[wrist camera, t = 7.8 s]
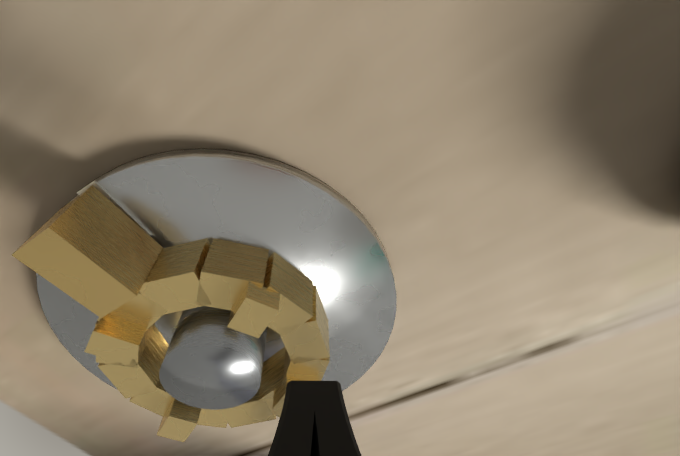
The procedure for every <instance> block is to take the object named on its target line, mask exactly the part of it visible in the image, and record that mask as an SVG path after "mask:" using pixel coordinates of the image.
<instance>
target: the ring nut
mask: <svg viewBox="0 0 680 456" xmlns="http://www.w3.org/2000/svg"><path fill="white" fill-rule="evenodd" d="M268 253H269V249H264V248H260V247H255V246H250V245H245V244H240V243H235V242H231V241H226V240H221V239H216V238H213V241H212V244H210V242H209V240H208V238H205V239H201V240H196V241H192V242H188V243H183V244H179V245H175V246H170V247H166V248H163V247H162V246H161V245H159V244H158V243H157V242H156V241H155V240H154V239H153V238H152V237H150V236H149V235H148V234H147V233H146V232H145V231H144V230H143V229H141V228H140V227H139V226H138V225H137V224H136V223H135V222H133V221H132V220H131V219H130V218H129V217H128V216H127V215H126V214H124V213H123V212H122V211H121V210H120V209H119V208H118V207H116V206H115V205H114V204H113V203H112V202H111V201H110V200H109V199H107V198H106V197H105V196H104V195H103V194H102V193H101V192H100V191H98V190H97V189H96V188H95V187H94V186H93V185H92V186H90V187H89V188H88V189H86V190H85V191H84V192H82V193H81V194H80V195H78V196H77V197H76V198H75V199H73V200H72V201H71V202H69V203H68V204H67V205H65V206H64V207H63V208H61V209H60V210H59V211H58V212H57V213H56V214H55V215H54V216H52V217H51V218H50V219H49V220H48V221H47V222H46V223H45V224H44V225H43V226H42V227H41V228H40V229H39V230H38V231H37V232H35V233H34V234H33V235H32V236H31V237H30V238H29V239H28V240H27V241H26V242H25V243H24V244H23V245H22V246H21V247H20V248H19V249H17V250H16V251H15V252H14V253H13V254H12V256H13V257H15V258H16V259H18V260H19V261H21V262H22V263H23V264H25V265H26V266H28V267H29V268H30V269H32V270H33V271H35V272H36V273H38V274H39V275H40V276H42V277H43V278H45V279H46V280H47V281H49V282H50V283H52V284H53V285H55V286H56V287H57V288H59V289H60V290H62V291H63V292H64V293H66V294H67V295H69V296H70V297H72V298H73V299H74V300H76V301H77V302H79V303H80V304H81V305H83V306H84V307H86V308H87V309H89V310H90V311H91V312H93V313H94V314H96V315H97V316H99V318H98V319H97V322H96V324H95V329H94V330H93V332H92V335H91V337H90V339H89V342H88V344H87V347H86V349H85V351H84V352H86V353H89V354H93V355H96V362H97V363H99V365H98V367H99V368H100V370H101V371H102V372H103V373H104V374H105V375H106V377H107V378H108V379H109V380H110V381H111V382H112V383H113V385H114V386H115V387H116V388H117V389H118V390H119V392H120V393H121V394H122V395H123V396H124V397H125V398H129V397H131V399H130V402H132V403H135V404H137V405H139V406H141V407H143V408H145V409H148V410H150V411H152V412H154V413H156V414H159V415H161V416H163V418H162V421H161V424H160V427H159V430H158V433H157V435H158V436H161V437H165V438H169V439H173V440H177V441H181V442H185V440H186V439H187V438H188V436H189V435H190V433H191V432H192V431H193V429H194V428H195V426H196V425H205V426H214V427H223V428H226V426H227V422H228V424H229V425H230V427H231V428H232V427H238V426H243V425H248V424H253V423H258V422H264V421H269V420H274V419H276V416H278V417H280V416H281V412H282V408H283V404H284V399H285V394H286V387H287V383H288V382H290V381H321V380H322V378H323V375H324V373H325V371H326V368H327V366H328V364H329V361H330V351H329V327H328V318H327V315H326V312H325V310H324V307H323V304H322V301H321V298H320V295H319V292H318V290H317V287H316V285H313V281H312V280H311V279H310V278H308V277H307V276H306V275H304V274H303V273H302V272H300V271H299V270H298V269H296V268H295V267H294V266H292V265H291V264H290V263H288V262H287V261H286V260H285V259H283V258H282V257H281V256H279V255H278V254H277V253H275V252H274V253H273V254H271V255H270V256H269V257H268ZM201 306H208V307H214V308H219V309H225V310H231V312H230V316H229V321H228V325H227V327H229V328H231V329H234V330H237V331H240V332H242V333H245V334H248V335H251V336H253V337H256V338H259V337H260V336H261V334H262V333H263V331H264V330H265V329H266V327H267V326H268V327H269V328H271V329H272V330H274V331H276V332H277V333H279V334H280V337H281V339H282V341H283V343H284V345H285V347H283V348H282V349H281V350H279V351H278V352H277V353H275V354H274V355H272V356H271V357H270V358H268V359H267V360H266V361H264V362H263V367H262V375H261V383H260V387H259V390H258V392H257V393H256V394H255V396H254V397H253V398H251V399H250V400H249V401H247V402H245V403H243V404H241V405H239V406H236V407H232V408H228V409H219V410H211V409H202V408H197V407H193V406H189V405H187V404H184V403H182V402H180V401H178V400H176V399H175V398H173V397H172V396H171V395H170V394H168V393H167V392H166V390H165V389H164V388H163V386H162V384H161V382H160V378H159V372H160V368H161V365H162V363H163V360H164V358H165V355H166V352H167V350H168V347H169V345H168V343H167V342H166V340H165V339H164V337H163V336H162V334H161V333H160V332H159V330H158V329H157V327H156V326H155V322H156V321H157V320H158V319H159V318H160V317H162V316H163V315H165V314H169V313H174V312H178V311H183V310H188V309H192V308H197V307H201Z"/></svg>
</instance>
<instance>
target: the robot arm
mask: <svg viewBox="0 0 680 456" xmlns="http://www.w3.org/2000/svg"><path fill="white" fill-rule="evenodd" d="M268 456H361V454H360V451H359V448H358V445H357V443H356V440H355V437H354V434H353V431H352V427H351V424H350V421H349V418H348V414H347V411H346V407H345V403H344V399H343V395H342V390H341V384H340V383H339V382H338V381H290V382H288V383H287V387H286V394H285V399H284V404H283V408H282V412H281V416H280V420H279V423H278V427H277V430H276V434H275V437H274V440H273V443H272V445H271V448H270V451H269V454H268Z"/></svg>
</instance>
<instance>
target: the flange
mask: <svg viewBox="0 0 680 456" xmlns="http://www.w3.org/2000/svg"><path fill="white" fill-rule="evenodd" d="M92 185H93V186H94V187H95V188H96V189H97V190H98V191H100V192H101V193H102V194H103V195H104V196H105V197H106V198H107V199H109V200H110V201H111V202H112V203H113V204H114V205H115V206H116V207H118V208H119V209H120V210H121V211H122V212H123V213H124V214H126V215H127V216H128V217H129V218H130V219H131V220H132V221H133V222H135V223H136V224H137V225H138V226H139V227H140V228H141V229H143V230H144V231H145V232H146V233H147V234H148V235H149V236H150V237H152V238H153V239H154V240H155V241H156V242H157V243H158V244H159V245H161V246H162V247H163V248H166V247H170V246H175V245H179V244H183V243H188V242H192V241H196V240H201V239H205V238H208V240H209V242H210V244H212V241H213V238H216V239H221V240H226V241H231V242H235V243H240V244H245V245H250V246H255V247H260V248H264V249H269V253H268V257H269V256H270V255H271V254H273V253H274V252H275V253H277V254H278V255H279V256H281V257H282V258H283V259H285V260H286V261H287V262H288V263H290V264H291V265H292V266H294V267H295V268H296V269H298V270H299V271H300V272H302V273H303V274H304V275H306V276H307V277H308V278H310V279H311V280H312V281H313V285H316V287H317V290H318V292H319V295H320V298H321V301H322V304H323V307H324V310H325V312H326V315H327V318H328V327H329V351H330V361H329V364H328V366H327V368H326V371H325V373H324V375H323V378H322V380H321V381H338V382H339V383H340V384H341V390H342V391H343V390H344V389H346V388H348V387H349V386H350V385H351V384H353V383H354V382H355V381H357V380H358V379H359V378H360V377H361V376H362V375H363V374H364V373H365V372H366V371H367V370H368V369H369V368H370V367H371V366H372V365H373V364H374V362H375V361H376V360H377V358H378V357H379V356H380V354H381V353H382V351H383V349H384V347H385V346H386V344H387V342H388V340H389V337H390V334H391V331H392V329H393V325H394V320H395V315H396V290H395V284H394V278H393V274H392V270H391V266H390V263H389V260H388V257H387V255H386V252H385V249H384V247H383V245H382V243H381V241H380V239H379V238H378V236H377V234H376V232H375V231H374V229H373V228H372V227H371V225H370V224H369V223H368V221H367V220H366V219H365V217H364V216H363V215H362V214H361V213H360V212H359V211H358V210H357V209H356V208H355V207H354V206H353V205H352V204H351V203H350V202H349V201H348V200H347V199H346V198H345V197H343V196H342V195H341V194H339V193H338V192H337V191H335V190H334V189H333V188H331V187H330V186H329V185H327V184H325V183H324V182H322V181H320V180H318V179H317V178H315V177H313V176H311V175H310V174H308V173H306V172H304V171H302V170H299V169H297V168H294V167H292V166H290V165H287V164H285V163H282V162H280V161H276V160H273V159H269V158H266V157H262V156H258V155H255V154H250V153H243V152H237V151H231V150H219V149H189V150H177V151H168V152H164V153H159V154H155V155H150V156H145V157H142V158H139V159H137V160H134V161H131V162H129V163H126V164H123V165H120V166H119V167H117V168H115V169H113V170H111V171H109V172H108V173H106V174H104V175H102V176H100V177H99V178H97V179H96V180H94V181H93V182H91V183H90V184H88V185H87V186H85V187H84V188H82V189H81V190H79V191H78V192H77V194H78V195H80V194H81V193H82V192H84V191H85V190H86V189H88V188H89V187H90V186H92ZM78 195H77V196H78ZM77 196H76V197H77ZM76 197H75V198H76ZM75 198H74V199H75ZM72 200H73V199H72ZM72 200H71V201H72ZM71 201H70V202H71ZM36 275H37V289H38V294H39V298H40V302H41V306H42V309H43V312H44V314H45V316H46V318H47V320H48V323H49V325H50V327H51V328H52V330H53V331H54V333H55V334H56V336H57V337H58V339H59V341H60V342H61V343H62V344H63V345H64V347H65V348H66V349H67V350H68V351H69V353H70V354H71V355H72V356H73V357H74V358H75V359H76V360H77V361H78V362H80V363H81V364H82V365H83V366H84V367H85V368H86V369H87V370H89V371H90V372H91V373H93V374H94V375H95V376H97V377H98V378H99V379H101V380H102V381H104V382H105V383H107V384H109V385H110V386H112V387H114V388H115V389H117V388H116V387H115V386H114V385H113V383H112V382H111V381H110V380H109V379H108V378H107V377H106V375H105V374H104V373H103V372H102V371H101V370H100V368H99V367H98V365H99V363H97V362H96V355H93V354H89V353H86V352H84V351H85V349H86V347H87V344H88V342H89V339H90V337H91V335H92V332H93V330H94V329H95V324H96V322H97V319H98V318H99V316H97V315H96V314H94V313H93V312H91V311H90V310H89V309H87V308H86V307H84V306H83V305H81V304H80V303H79V302H77V301H76V300H74V299H73V298H72V297H70V296H69V295H67V294H66V293H64V292H63V291H62V290H60V289H59V288H57V287H56V286H55V285H53V284H52V283H50V282H49V281H47V280H46V279H45V278H43V277H42V276H40V275H39V274H38V273H36ZM230 312H231V310H225V309H219V308H214V307H208V306H201V307H197V308H192V309H188V310H183V311H178V312H174V313H169V314H165V315H163V316H162V317H160V318H159V319H158V320H157V321H156V322H155V326H156V327H157V329H158V330H159V332H160V333H161V334H162V336H163V337H164V339H165V340H166V342H167V343H168V345H169V347H168V350H167V352H166V355H165V358H164V360H163V363H162V365H161V368H160V372H159V378H160V382H161V384H162V386H163V388H164V389H165V390H166V392H167V393H168V394H170V395H171V396H172V397H173V398H175V399H176V400H178V401H180V402H182V403H184V404H187V405H189V406H193V407H197V408H202V409H211V410H219V409H228V408H232V407H236V406H239V405H241V404H243V403H245V402H247V401H249V400H250V399H251V398H253V397H254V396H255V394H256V393H257V392H258V390H259V387H260V383H261V375H262V367H263V362H264V361H266V360H267V359H268V358H270V357H271V356H272V355H274V354H275V353H277V352H278V351H279V350H281V349H282V348H283V347H285V345H284V343H283V341H282V339H281V337H280V334H279V333H277V332H276V331H274V330H272V329H271V328H269V327H268V326H267V327H266V329H265V330H264V331H263V333H262V334H261V336H260V337H259V338H256V337H253V336H251V335H248V334H245V333H242V332H240V331H237V330H234V329H231V328H229V327H227V325H228V321H229V316H230ZM117 390H118V389H117Z"/></svg>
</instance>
